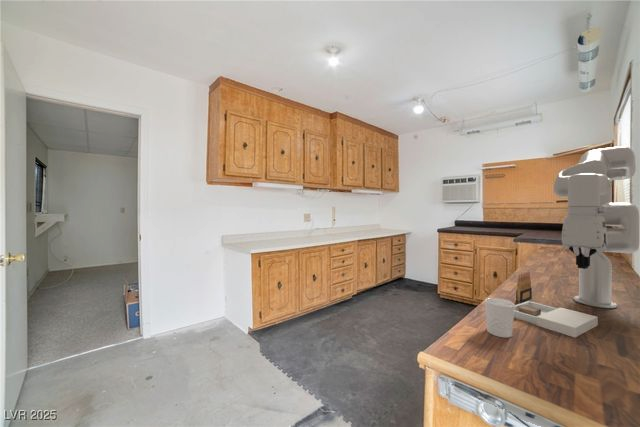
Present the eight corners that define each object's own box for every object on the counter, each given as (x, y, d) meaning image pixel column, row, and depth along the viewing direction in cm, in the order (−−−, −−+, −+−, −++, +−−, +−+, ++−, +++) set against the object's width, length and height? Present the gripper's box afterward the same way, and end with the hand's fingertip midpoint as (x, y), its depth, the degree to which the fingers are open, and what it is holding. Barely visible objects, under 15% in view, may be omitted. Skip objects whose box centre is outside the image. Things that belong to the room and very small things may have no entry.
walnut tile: (540, 309, 100) (540, 314, 100) (525, 304, 104) (525, 310, 104) (534, 311, 97) (534, 316, 97) (518, 307, 102) (518, 312, 102)
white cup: (509, 329, 88) (509, 299, 88) (518, 340, 81) (518, 307, 81) (482, 326, 91) (482, 296, 91) (488, 336, 84) (488, 304, 83)
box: (528, 307, 109) (528, 300, 109) (559, 315, 100) (559, 308, 100) (505, 315, 101) (505, 308, 100) (536, 324, 92) (536, 317, 92)
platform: (560, 315, 100) (560, 307, 100) (597, 325, 91) (597, 316, 91) (536, 325, 91) (536, 316, 91) (575, 337, 83) (575, 327, 83)
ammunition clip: (520, 303, 113) (521, 275, 113) (515, 302, 115) (516, 274, 114) (531, 299, 119) (532, 271, 119) (526, 297, 120) (527, 271, 120)
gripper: (620, 212, 83) (620, 271, 83) (559, 211, 96) (559, 262, 96) (612, 212, 79) (611, 274, 80) (549, 212, 92) (549, 265, 93)
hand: (582, 267), depth 88 cm, fingers closed
